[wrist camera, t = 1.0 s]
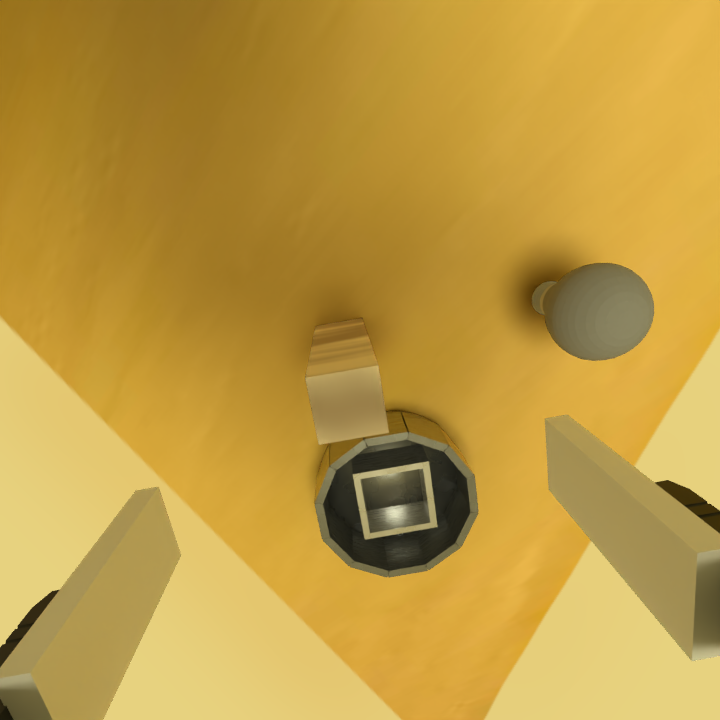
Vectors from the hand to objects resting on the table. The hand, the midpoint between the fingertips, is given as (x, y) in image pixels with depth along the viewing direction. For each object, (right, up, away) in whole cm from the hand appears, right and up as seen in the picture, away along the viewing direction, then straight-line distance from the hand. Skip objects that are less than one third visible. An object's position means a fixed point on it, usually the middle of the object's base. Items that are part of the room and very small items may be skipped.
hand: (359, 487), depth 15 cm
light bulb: (+14, +9, +20) cm, 26 cm away
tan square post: (-1, +6, +20) cm, 20 cm away
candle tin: (+3, -6, +23) cm, 24 cm away
